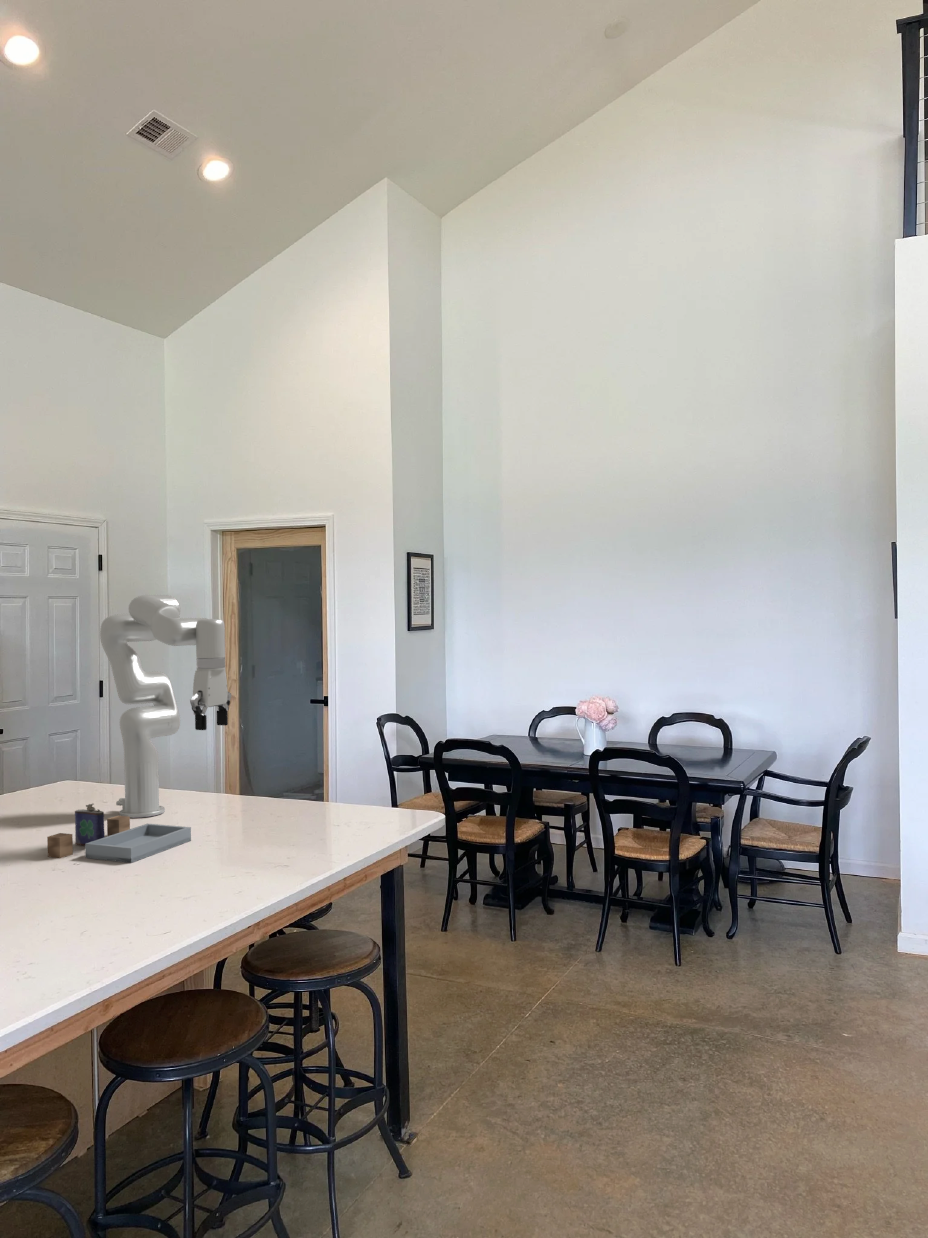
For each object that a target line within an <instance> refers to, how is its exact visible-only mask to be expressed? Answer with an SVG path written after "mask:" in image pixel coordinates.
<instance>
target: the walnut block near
mask: <svg viewBox="0 0 928 1238" xmlns="http://www.w3.org/2000/svg"><path fill="white" fill-rule="evenodd" d="M73 839H74V838H73V833H67V832H66V833H65V832H58V833H55V834H52V835H49V836H47V841H46V842H47V858H55V859H63V858H65V857H68V856H71V855H73V854H74V850H73V848H74V847H73V846H74V845H73V841H74V840H73Z"/></svg>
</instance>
